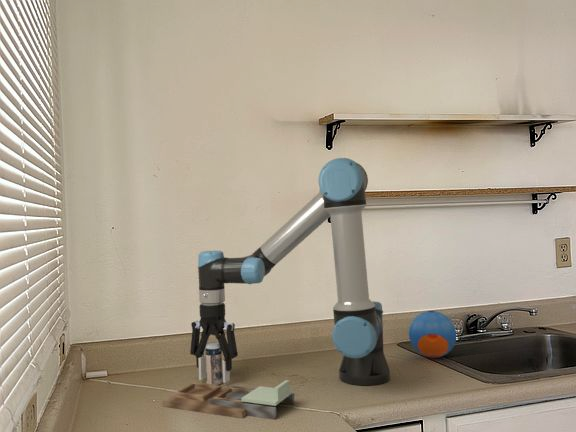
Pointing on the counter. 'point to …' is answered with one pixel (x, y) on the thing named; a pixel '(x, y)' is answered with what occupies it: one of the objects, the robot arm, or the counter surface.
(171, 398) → the housing
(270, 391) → the lid
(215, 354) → the beer can
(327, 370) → the counter surface
